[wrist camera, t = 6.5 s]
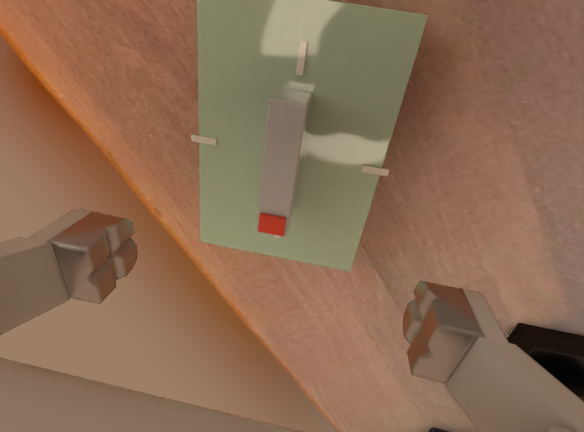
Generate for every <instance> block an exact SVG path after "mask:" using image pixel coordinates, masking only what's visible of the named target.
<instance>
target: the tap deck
mask: <svg viewBox="0 0 584 432" xmlns="http://www.w3.org/2000/svg"><path fill="white" fill-rule="evenodd" d="M427 19H428V15H426V14H419V13H413V12H406V11H400V10H393V9H387V8H380V7H374V6H367V5H361V4H354V3H348V2H341V1H335V0H197V45H198V114H199V135H196V134H191V141H195V142H199V183H200V242H203V243H208V244H213V245H218V246H223V247H228V248H233V249H238V250H243V251H248V252H253V253H258V254H263V255H268V256H273V257H278V258H283V259H288V260H293V261H298V262H304V263H309V264H314V265H319V266H324V267H329V268H334V269H339V270H344V271H349V272H350V271H351V269H352V266H353V262H354V259H355V256H356V252H357V249H358V246H359V243H360V239H361V236H362V233H363V229H364V226H365V223H366V220H367V216H368V213H369V210H370V206H371V203H372V200H373V197H374V193H375V190H376V187H377V183H378V180H379V177H380V175H381V176H388V173H389V169H384V168H382V167H383V164H384V160H385V157H386V154H387V150H388V147H389V144H390V141H391V137H392V134H393V131H394V127H395V124H396V121H397V118H398V114H399V111H400V108H401V104H402V101H403V98H404V95H405V91H406V88H407V85H408V81H409V78H410V75H411V72H412V68H413V65H414V62H415V58H416V55H417V52H418V48H419V45H420V42H421V39H422V35H423V32H424V29H425V25H426V22H427ZM282 88H284V89H290V90H295V91H301V92H307V93H312V94H313V99H312V105H311V111H310V117H309V124H308V130H307V136H306V142H305V148H304V154H303V160H302V166H301V173H300V179H299V185H298V191H297V197H296V203H295V209H294V213H293V216H292V220H291V224H290V227H289V231H288V234H287V236H286V237H282V236H277V235H272V234H267V233H262V232H257V231H256V226H257V216H258V205H259V194H260V184H261V173H262V163H263V152H264V142H265V131H266V121H267V110H268V100H269V98H270V97H271V96H273V95H274V94H275V93H276V92H278V91H279V90H280V89H282Z"/></svg>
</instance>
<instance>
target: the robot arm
mask: <svg viewBox="0 0 584 432" xmlns="http://www.w3.org/2000/svg"><path fill="white" fill-rule="evenodd" d="M134 233H135V232H134V226H133V222H131V221H130V220H128V219H125V218H120V217H116V216H112V215H107V214H103V213H99V212H94V211H89V210H84V209H73V210H71V211H70V212H68V213H67V214H65V215H63V216H62V217H60V218H59V219H57V220H55V221H54V222H52V223H51V224H49V225H47V226H46V227H44V228H42V229H41V230H39V231H38V232H36V233H34V234H33V235H31V236H30V237H28V238H23V237H20V238H16V239H12V240H8V241H4V242H0V335H2V334H4V333H6V332H7V331H9V330H11V329H13V328H15V327H17V326H19V325H21V324H23V323H25V322H27V321H29V320H31V319H33V318H35V317H37V316H39V315H41V314H43V313H45V312H46V311H48V310H50V309H52V308H54V307H56V306H58V305H60V304H62V303H64V302H66V301H68V300H69V298H72V299H77V300H82V301H87V302H93V303H97V304H101V303H102V301H103V300H104V299H105V298H106V297H107V296H108V295H109V294H110V293H111V292H112V291H113V290H114V289H115V288H116V280H118V279H120V278H122V277H125V276H127V274H128V273H129V272H130V271H131V270H132V269H133V267H134V264H135V262H136V260H137V253H138V251H137V245H136V244H135V242H134V241H133V240H132V239H131V236H132V235H133V234H134ZM414 294H415V298H416V299H415V300H413V301H411V302H409V303H408V305H407V307H406V310H405V312H404V318H403V332H404V337H405V339H406V340H407V341H408V342H409V343H410V344H411V345H410V347H409V349H408V351H407V354H408V359H409V364H410V369H411V375H413V376H417V377H421V378H425V379H429V380H433V381H437V382H441V383H444V384H446V385H445V386H446V387H447V388H448V390H449V391H450V393H451V394H452V395H453V397H454V398H455V400H456V401H457V402H458V404H459V405H460V407H461V408H462V409H463V411H464V412H465V414H466V415H467V416H468V418H469V419H470V421H471V422H472V423H473V425H474V426H475V428H476V429H477V430H478V432H584V402H583V401H582V400H581V399H580V398H579V397H577V396H576V395H575V394H574V393H573V392H571V391H570V390H569V389H568V388H567V387H565V386H564V385H563V384H562V383H561V382H560V381H558V380H557V379H556V378H555V377H554V376H552V375H551V374H550V373H549V372H548V371H546V370H545V369H544V368H543V367H542V366H541V365H539V364H538V363H537V362H536V361H535V360H533V359H532V358H531V357H530V356H529V355H527V354H526V353H525V352H524V351H523V350H522V349H520V348H519V347H518V346H517V345H516V344H511V343H509V342H508V340H507V338H506V337H505V335H504V333H503V331H502V329H501V327H500V325H499V323H498V321H497V320H496V318H495V316H494V314H493V312H492V310H491V308H490V306H489V304H488V303H487V301H486V299H485V297H484V295H483V294H482V293H480V292H479V291H474V290H469V289H463V288H455V287H450V286H445V285H440V284H435V283H430V282H425V281H420V282H419V283H418V284H417V286H416V288H415V290H414ZM0 432H303V431H299V430H294V429H290V428H286V427H282V426H278V425H274V424H270V423H266V422H262V421H258V420H254V419H249V418H245V417H241V416H237V415H233V414H228V413H225V412H221V411H217V410H212V409H208V408H204V407H200V406H196V405H192V404H188V403H183V402H180V401H176V400H172V399H167V398H163V397H159V396H155V395H151V394H147V393H143V392H139V391H134V390H130V389H126V388H122V387H118V386H114V385H110V384H106V383H102V382H97V381H94V380H89V379H85V378H81V377H77V376H73V375H69V374H65V373H61V372H57V371H53V370H49V369H45V368H41V367H37V366H32V365H28V364H24V363H20V362H16V361H12V360H8V359H4V358H0Z"/></svg>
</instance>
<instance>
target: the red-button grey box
mask: <svg viewBox="0 0 584 432" xmlns="http://www.w3.org/2000/svg"><path fill="white" fill-rule="evenodd" d="M312 99H313V94H312V93H307V92H301V91H295V90H290V89H284V88H282V89H280V90H279V91H278V92H276V93H275V94H274V95H273V96H271V97H270V98H269V100H268V110H267V121H266V131H265V142H264V152H263V163H262V173H261V184H260V194H259V205H258V216H257V226H256V231H257V232H262V233H267V234H272V235H277V236H282V237H286V236H287V234H288V231H289V227H290V224H291V220H292V216H293V213H294V209H295V203H296V197H297V191H298V185H299V179H300V173H301V166H302V160H303V154H304V148H305V142H306V136H307V130H308V124H309V117H310V111H311V105H312Z"/></svg>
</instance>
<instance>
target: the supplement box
mask: <svg viewBox="0 0 584 432" xmlns="http://www.w3.org/2000/svg"><path fill="white" fill-rule="evenodd" d="M430 432H446V431H442V430H437V429H432V430H431V431H430Z"/></svg>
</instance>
